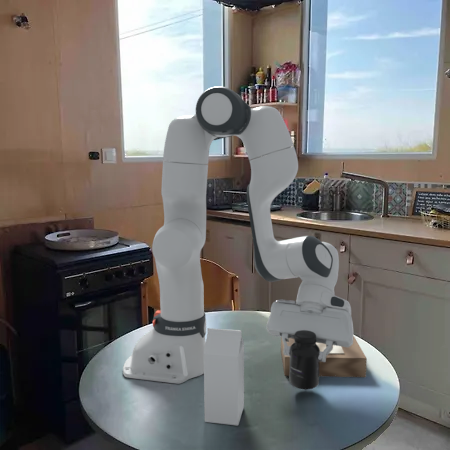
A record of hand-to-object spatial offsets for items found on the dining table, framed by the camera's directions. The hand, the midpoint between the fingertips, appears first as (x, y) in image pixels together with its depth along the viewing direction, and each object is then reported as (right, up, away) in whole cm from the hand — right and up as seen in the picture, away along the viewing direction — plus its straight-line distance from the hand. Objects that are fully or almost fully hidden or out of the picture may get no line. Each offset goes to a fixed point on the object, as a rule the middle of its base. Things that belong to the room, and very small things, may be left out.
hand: (304, 357), depth 104 cm
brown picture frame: (+7, -6, +16) cm, 19 cm away
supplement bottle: (0, -6, +2) cm, 7 cm away
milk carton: (-18, -10, -7) cm, 22 cm away
